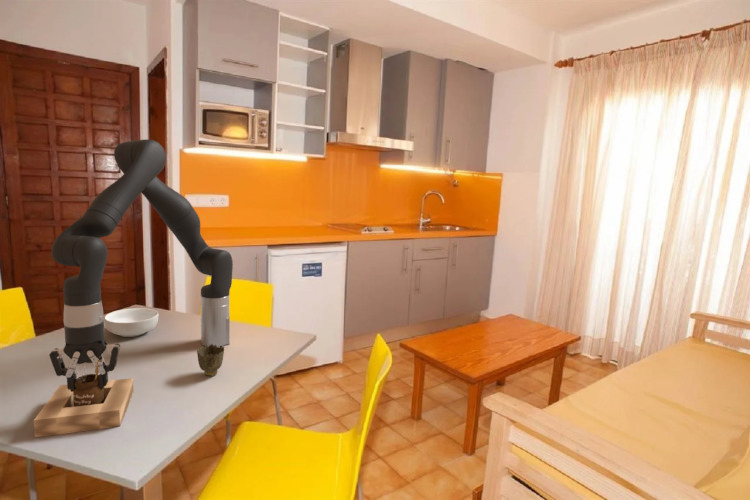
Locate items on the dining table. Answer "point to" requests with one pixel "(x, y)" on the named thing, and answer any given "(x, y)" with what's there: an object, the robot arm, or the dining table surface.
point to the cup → (210, 359)
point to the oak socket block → (84, 410)
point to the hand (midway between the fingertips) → (88, 388)
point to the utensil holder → (88, 389)
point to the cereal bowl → (131, 321)
